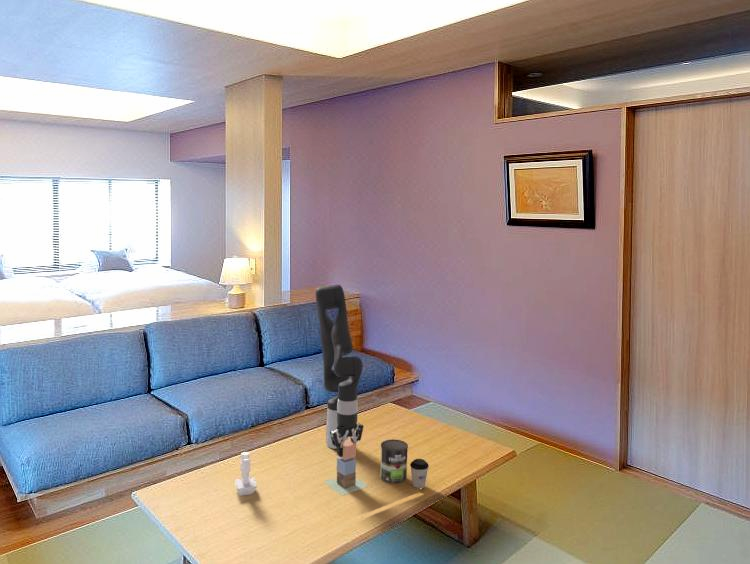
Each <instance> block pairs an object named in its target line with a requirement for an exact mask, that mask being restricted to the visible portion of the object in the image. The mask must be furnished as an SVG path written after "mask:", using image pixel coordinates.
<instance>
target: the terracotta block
mask: <svg viewBox="0 0 750 564" xmlns="http://www.w3.org/2000/svg"><path fill="white" fill-rule="evenodd" d="M336 454H337V453H336ZM337 457H338V458H339V457H340V456H339V455H338V454H337ZM356 457H357V443H356V444H355V443H354V442H352V441H351V440H350V438H348V440H345V442H344V444H343V456H342V457H340V458H342V459H344V460H348V459H351V458H354V459H355V458H356Z"/></svg>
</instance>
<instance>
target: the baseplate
mask: <svg viewBox="0 0 750 564" xmlns="http://www.w3.org/2000/svg"><path fill="white" fill-rule="evenodd" d="M323 483H324V484H325V485H327V486H328V487H329V488H331V489H333V490H334V491H335V492H336V493H338V494H339V495H340V496H346V495H348V494H351V493H353V492H356V491H359V490H362V489H364V488H366V487H367V488H368V487H369V485H368V484H367V483H366V482H364V481H362V480H360V479H359V478H358V477H356V485H354V486H351V487H348V488H345V489H344V488H343V487H341V486H340V485H339V484H337V477H335V478H333V479H329V480H327V481H324V482H323Z"/></svg>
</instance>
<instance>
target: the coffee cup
mask: <svg viewBox="0 0 750 564" xmlns="http://www.w3.org/2000/svg"><path fill="white" fill-rule="evenodd" d="M409 466H410V472H411V474H410V475H411V483H412V486H413V487H415V488H417V489H419V490H421V489H420V488H424V487H425V488H426V482H427V478H428V469H429V463H428V462H427V461H426V460H425V459H422V458H415V459H413V460H412V461H411V462H410V464H409ZM425 488H424V489H425Z"/></svg>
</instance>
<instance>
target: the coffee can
mask: <svg viewBox="0 0 750 564" xmlns="http://www.w3.org/2000/svg"><path fill="white" fill-rule="evenodd" d="M380 447H381V448H380V476H379V477H380V479H381V480H382V481H383V482H384V483H387V484H395V485H396V484H400V483H404V482H405V481H407V480H406V479H407V473H408V472H407V471H408V451H409V450H408V448H409V445H408V443H407V442H405V441H403V440H401V439H387V440H386V439H385V440H384V441H382V442H381V443H380Z"/></svg>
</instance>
